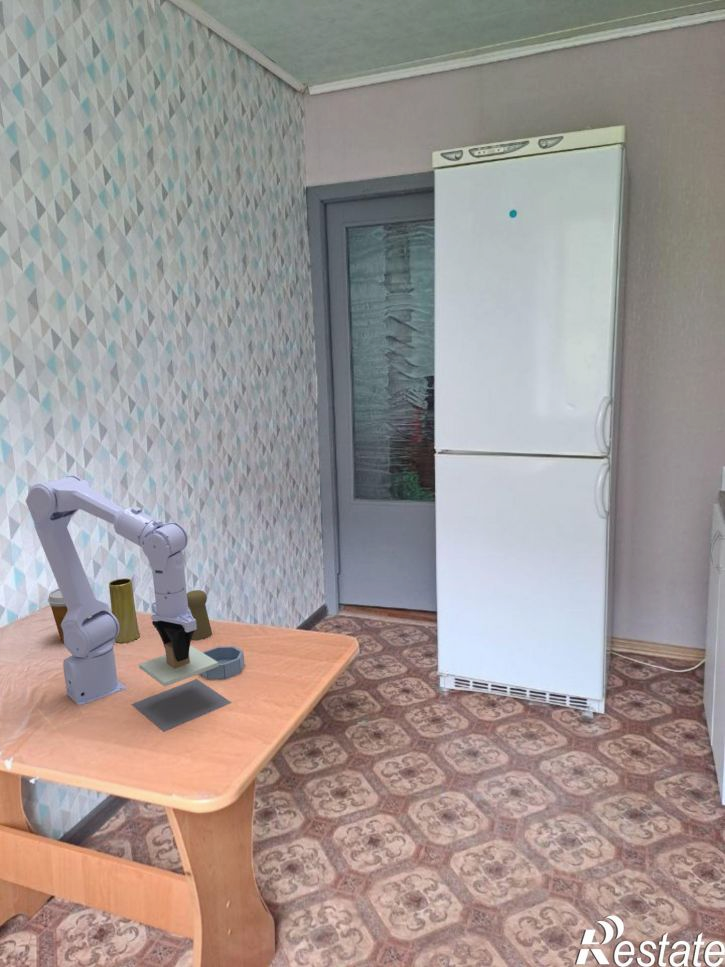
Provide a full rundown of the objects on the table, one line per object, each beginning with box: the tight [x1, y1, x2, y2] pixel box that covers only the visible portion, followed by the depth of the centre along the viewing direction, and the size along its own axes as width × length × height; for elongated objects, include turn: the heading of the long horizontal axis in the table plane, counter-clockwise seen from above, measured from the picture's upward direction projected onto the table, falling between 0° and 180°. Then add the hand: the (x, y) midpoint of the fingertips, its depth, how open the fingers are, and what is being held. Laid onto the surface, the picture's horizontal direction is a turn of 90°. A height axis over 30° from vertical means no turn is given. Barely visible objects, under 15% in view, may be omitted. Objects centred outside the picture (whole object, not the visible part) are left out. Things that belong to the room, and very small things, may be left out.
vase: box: [108, 578, 141, 644], centre depth 163 cm, size 6×6×14 cm
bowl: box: [199, 645, 246, 680], centre depth 144 cm, size 9×9×4 cm
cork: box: [187, 589, 213, 641], centre depth 163 cm, size 6×6×11 cm
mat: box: [131, 678, 232, 733], centre depth 131 cm, size 14×14×1 cm
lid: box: [138, 642, 219, 688], centre depth 129 cm, size 11×11×5 cm
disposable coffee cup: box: [47, 588, 90, 643], centre depth 165 cm, size 10×10×12 cm
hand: (177, 656), depth 129 cm, fingers closed on lid, 3 cm apart
